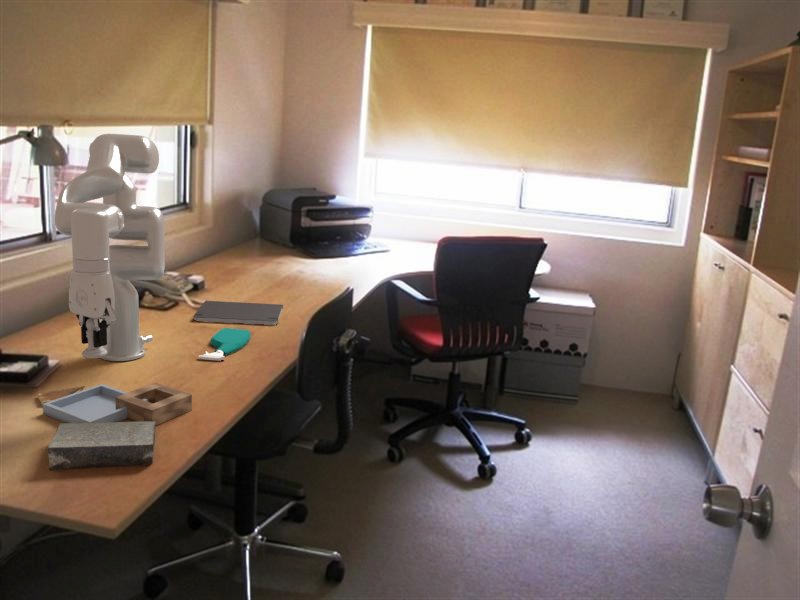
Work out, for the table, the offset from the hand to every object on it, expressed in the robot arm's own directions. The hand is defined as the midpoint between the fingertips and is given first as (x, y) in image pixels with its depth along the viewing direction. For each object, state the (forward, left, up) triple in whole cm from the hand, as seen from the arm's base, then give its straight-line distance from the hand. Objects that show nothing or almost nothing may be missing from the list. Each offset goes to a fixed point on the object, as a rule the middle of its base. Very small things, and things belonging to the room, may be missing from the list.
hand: (94, 343), depth 162 cm
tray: (0, 0, -17) cm, 17 cm away
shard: (0, -14, -17) cm, 22 cm away
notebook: (-83, -30, -17) cm, 90 cm away
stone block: (+12, +18, -17) cm, 28 cm away
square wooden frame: (-8, +10, -17) cm, 21 cm away
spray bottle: (-53, -9, -17) cm, 57 cm away
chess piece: (0, 0, -3) cm, 3 cm away
